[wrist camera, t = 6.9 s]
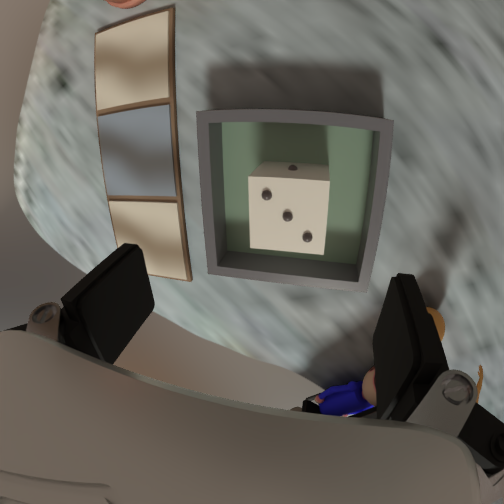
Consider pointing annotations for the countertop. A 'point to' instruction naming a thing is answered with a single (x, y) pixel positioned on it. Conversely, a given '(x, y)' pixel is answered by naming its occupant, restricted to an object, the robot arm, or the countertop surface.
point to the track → (142, 140)
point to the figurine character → (345, 399)
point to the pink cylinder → (125, 3)
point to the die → (289, 206)
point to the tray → (297, 151)
